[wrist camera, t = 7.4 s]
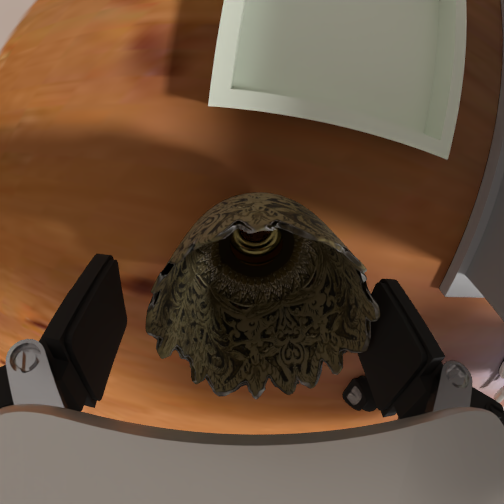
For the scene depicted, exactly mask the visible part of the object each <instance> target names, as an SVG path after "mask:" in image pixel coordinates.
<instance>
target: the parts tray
mask: <svg viewBox="0 0 504 504" xmlns="http://www.w3.org/2000/svg"><path fill="white" fill-rule="evenodd" d="M466 29H467V11H466V0H224V3H223V8H222V14H221V19H220V25H219V31H218V37H217V44H216V50H215V57H214V64H213V71H212V78H211V86H210V94H209V102H208V106H214V107H226V108H236V109H245V110H253V111H261V112H268V113H275V114H281V115H287V116H293V117H299V118H304V119H309V120H314V121H319V122H324V123H328V124H333V125H337V126H342V127H346V128H350V129H354V130H358V131H361V132H365V133H369V134H372V135H376V136H379V137H383V138H386V139H390V140H393V141H396V142H399V143H402V144H405V145H408V146H411V147H414V148H417V149H420V150H423V151H426V152H428V153H431V154H434V155H436V156H439V157H442V158H444V159H447V160H448V157H449V153H450V149H451V144H452V140H453V136H454V131H455V126H456V121H457V116H458V110H459V104H460V98H461V91H462V83H463V75H464V65H465V52H466Z"/></svg>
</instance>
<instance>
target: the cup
mask: <svg viewBox="0 0 504 504" xmlns="http://www.w3.org/2000/svg"><path fill="white" fill-rule="evenodd" d="M240 229H241V230H243V231H244V232H247V233H248V234H250V233H255V232H258V231H270V233H269V235H268V237H267V238H266V239H264V240H263V241H260V242H250V241H247V240H246V239H244V238H243V236H242V235H241V233H240ZM366 271H367V269H366V268H365V266H364V265H363V264H362V263H361V262H360V261H359V260H358V259H357V258H356V257H355V256H354V255H353V254H352V253H351V252H350V250H349V249H348V248H347V247H346V246H345V245H344V244H343V243H342V242H341V240H340V239H339V238H338V237H337V236H336V235H335V234H334V233H333V232H332V231H331V230H330V229H329V228H328V226H327V225H326V224H325V223H324V222H323V221H321V220H320V219H319V218H318V217H317V216H316V215H315V214H314V213H312V212H311V211H310V210H308V209H307V208H306V207H304V206H303V205H301V204H300V203H298V202H296V201H294V200H292V199H289V198H286V197H284V196H281V195H277V194H272V193H264V192H254V193H246V194H241V195H237V196H234V197H231V198H228V199H226V200H224V201H222V202H220V203H219V204H217V205H215V206H214V207H212V208H211V209H210V210H208V211H207V212H206V213H205V214H204V215H203V216H202V217H201V218H200V219H199V220H198V221H197V222H196V223H195V224H194V225H193V227H192V228H191V229H190V231H189V232H188V233H187V234H186V236H185V237H184V239H183V240H182V242H181V243H180V245H179V246H178V248H177V249H176V251H175V252H174V254H173V255H172V257H171V259H170V260H169V262H168V263H167V265H166V267H165V268H164V270H163V271H162V272H160V274H159V276H158V278H157V280H156V282H155V284H154V286H153V288H152V290H151V293H153V297H152V299H151V302H150V304H149V306H148V310H147V316H146V332H147V334H148V335H151V336H153V337H154V338H156V339H157V340H158V341H157V346H156V349H157V352H158V354H159V356H160V358H162V359H164V358H166V357H168V356H170V355H171V354H172V352H173V351H174V350H177V351H178V353H179V356H180V358H181V359H186V360H187V361H188V362H189V363H190V367H191V378H192V381H193V382H194V383H195V384H198V383H200V382H202V381H203V380H205V378H206V379H207V381H208V383H209V385H210V387H211V388H212V390H213V392H214V393H215V394H216V395H217V396H219V397H220V396H226V395H228V394H230V393H232V392H234V391H236V390H238V389H239V388H240V387H241V386H244V385H247V387H248V390H249V392H250V393H251V394H252V396H253V398H254V399H258V398H259V397H260V396H261V394H262V393H263V392H264V390H265V389H266V388H265V385H266V383H267V380H268V378H270V379H271V382H272V383H273V385H274V386H275V387H278V388H279V389H280V390H281V391H282V392H284V393H285V394H287V395H290V394H292V393H293V392H294V391H295V388H296V385H297V384H299V381H300V382H301V384H302V385H305V386H307V387H308V388H314V387H315V385H316V384H317V383H318V380H319V378H320V375H321V371H322V363H323V361H324V362H325V363H326V364H327V365H328V367H329V368H330V369H331V371H332V373H333V374H336V375H338V374H339V373H340V371H341V370H342V368H343V354H344V353H346V352H348V351H350V352H351V353H362V352H364V351H366V350H367V349H368V346H369V343H370V337H371V325H370V323H371V321H377V320H378V319H379V318H380V310H379V306H378V303H377V302H376V300H375V299H374V298H373V297H372V295H371V294H370V292H369V290H368V287H367V283H366V280H367V277H366V276H365V274H364V273H365V272H366ZM174 348H175V349H174ZM347 350H348V351H347ZM345 351H346V352H345ZM242 384H243V385H242ZM240 385H241V386H240ZM238 386H239V387H238Z"/></svg>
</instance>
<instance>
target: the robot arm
mask: <svg viewBox="0 0 504 504" xmlns="http://www.w3.org/2000/svg"><path fill="white" fill-rule="evenodd" d="M371 295H372V297H373V298H374V299H375V300H376V302H377V303H378V306H379V310H380V318H379V319H378V320H377V321H371V323H370V325H371V337H370V343H369V346H368V349H367V350H366V351H364V352H362V353H358V356H359V358H360V361H361V364H362V366H363V369H364V372H365V375H366V377H367V380H368V383H369V386H370V389H371V392H372V394H373V397H374V400H375V403H376V406H377V408H378V410H381V413H382V416H383V417H387V416H392V415H395V414H396V413H397V415H398V419H397V420H395V421H390V422H385V423H380V424H374V425H368V426H362V427H356V428H349V429H341V430H333V431H323V432H312V433H299V434H276V435H240V434H217V433H202V432H191V431H182V430H173V429H166V428H159V427H152V426H146V425H141V424H135V423H129V422H124V421H119V420H114V419H110V418H105V417H101V416H97V415H92V414H89V413H84V412H81V411H82V409H83V406H84V405H86V406H89V407H93V408H95V405H96V402H97V400H98V401H100V400H101V399H102V397H103V393H104V390H105V387H106V383H107V380H108V377H109V374H110V371H111V368H112V365H113V362H114V359H115V356H116V353H117V350H118V348H119V345H120V342H121V339H122V336H123V334H124V331H125V328H126V325H127V315H126V310H125V305H124V299H123V293H122V287H121V281H120V275H119V268H118V262H117V260H114V259H113V257H112V256H111V255H104V254H96V255H95V256H94V257H93V259H92V260H91V261H90V263H89V264H88V266H87V267H86V269H85V270H84V271H83V273H82V274H81V276H80V277H79V279H78V280H77V282H76V283H75V285H74V286H73V288H72V289H71V290H70V291H69V293H68V294H67V296H66V297H65V299H64V300H63V302H62V304H61V305H60V307H59V308H58V310H57V312H56V313H55V315H54V316H53V318H52V320H51V322H50V323H49V325H48V327H47V328H46V330H45V332H44V334H43V335H42V337H41V339H40V341H39V342H38V341H36V340H33V339H25V340H21V341H19V342H17V343H16V344H14V345H13V346H12V347H11V348H10V350H9V351H8V353H7V356H6V365H4V366H2V367H0V504H504V410H503V407H502V405H501V404H500V403H498V402H501V401H502V400H503V399H504V386H503V387H502V388H500V390H499V391H498V392H497V393H496V394H495V395H494V399H495V400H494V399H492V398H490V397H489V396H487V395H485V394H483V393H482V392H480V391H478V390H476V389H475V388H473V387H472V377H471V374H470V372H469V371H468V369H467V368H466V367H465V366H464V365H462V364H461V363H459V362H457V361H447V362H446V363H445V364H444V365H443V364H442V362H441V361H442V360H443V359H444V357H445V355H444V354H443V352H442V350H441V348H440V347H439V345H438V343H437V342H436V340H435V338H434V337H433V335H432V333H431V332H430V330H429V328H428V327H427V325H426V324H425V322H424V320H423V319H422V317H421V316H420V314H419V313H418V311H417V309H416V308H415V306H414V305H413V303H412V302H411V300H410V299H409V297H408V296H407V294H406V293H405V291H404V290H403V289H402V287H401V286H400V284H399V283H398V281H397V280H394V279H381V280H380V282H378V283H377V284H376V285H375V287H374V289H373V292H372V294H371ZM499 374H500V376H501V378H504V361H503V363H502V365H501V367H500V369H499Z"/></svg>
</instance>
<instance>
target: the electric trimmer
mask: <svg viewBox="0 0 504 504" xmlns="http://www.w3.org/2000/svg"><path fill="white" fill-rule="evenodd" d="M343 399H344V400H345V402H346V403H347V404H348V405H349V406H351V407H352V408H354V409H355V410H358V411H360V410H361V409H363V410H365V411H369V412H370V411H374V410H375V409H376V408H377V406H376V403H375V400H374V397H373V394H372V392H371V389H370V386H369V383H368V380H367V378H366V377H365V376H360V377H359V378H358V379H353V380H352V381H351V382H350V384H349V385H348V387H347V388H346V389H345V391H344V392H343Z"/></svg>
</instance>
